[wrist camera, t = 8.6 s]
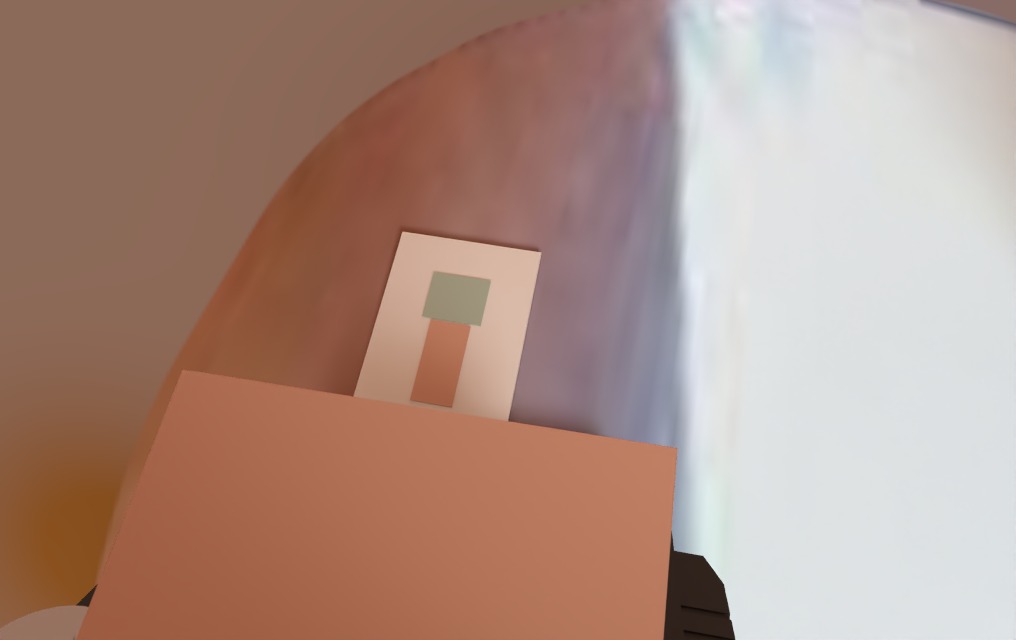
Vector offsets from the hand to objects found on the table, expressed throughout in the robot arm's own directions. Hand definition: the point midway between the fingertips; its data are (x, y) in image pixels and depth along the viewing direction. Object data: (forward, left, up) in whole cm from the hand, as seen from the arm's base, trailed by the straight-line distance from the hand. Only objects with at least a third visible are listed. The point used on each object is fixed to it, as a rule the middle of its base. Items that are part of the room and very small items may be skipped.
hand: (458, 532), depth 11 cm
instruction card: (-10, -7, -19) cm, 23 cm away
